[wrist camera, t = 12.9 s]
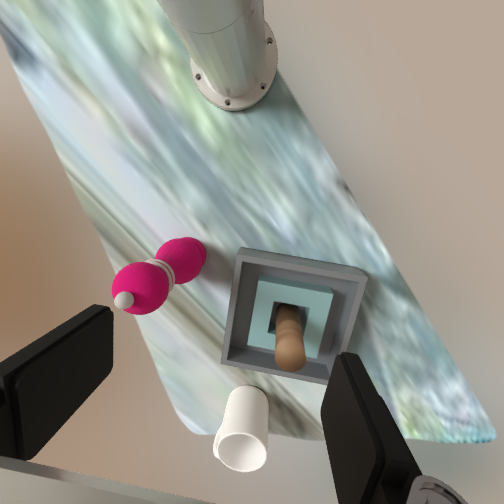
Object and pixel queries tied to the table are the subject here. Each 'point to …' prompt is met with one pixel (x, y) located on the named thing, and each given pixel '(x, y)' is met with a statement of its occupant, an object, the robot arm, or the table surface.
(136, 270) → the pepper mill
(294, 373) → the tray
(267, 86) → the robot arm
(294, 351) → the peg
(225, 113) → the table surface
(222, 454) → the mug
